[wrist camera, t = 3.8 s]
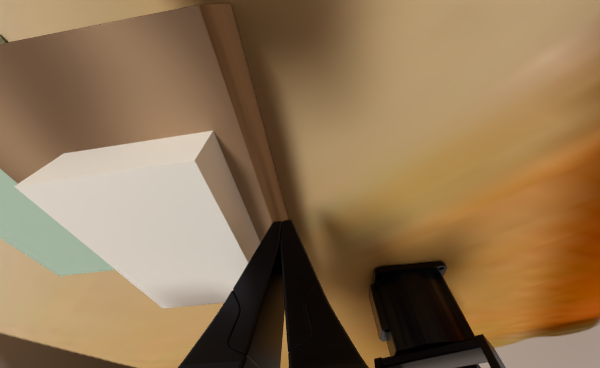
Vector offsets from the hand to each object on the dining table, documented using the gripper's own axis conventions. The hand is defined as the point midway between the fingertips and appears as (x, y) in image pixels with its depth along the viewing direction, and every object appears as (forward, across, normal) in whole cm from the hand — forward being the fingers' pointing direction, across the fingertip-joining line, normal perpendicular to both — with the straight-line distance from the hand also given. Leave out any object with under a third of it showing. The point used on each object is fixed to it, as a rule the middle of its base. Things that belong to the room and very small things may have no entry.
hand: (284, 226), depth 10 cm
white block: (+1, +5, 0) cm, 5 cm away
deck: (+5, +6, 0) cm, 8 cm away
